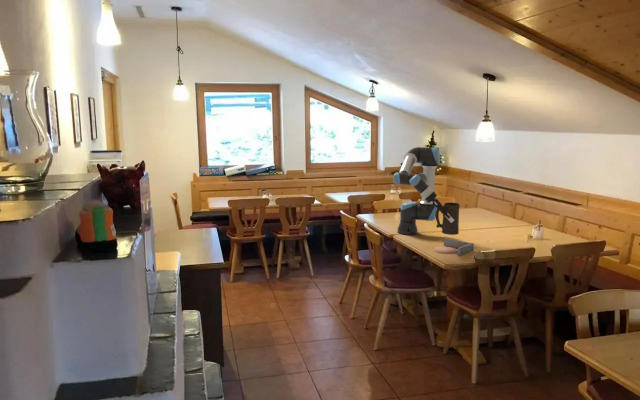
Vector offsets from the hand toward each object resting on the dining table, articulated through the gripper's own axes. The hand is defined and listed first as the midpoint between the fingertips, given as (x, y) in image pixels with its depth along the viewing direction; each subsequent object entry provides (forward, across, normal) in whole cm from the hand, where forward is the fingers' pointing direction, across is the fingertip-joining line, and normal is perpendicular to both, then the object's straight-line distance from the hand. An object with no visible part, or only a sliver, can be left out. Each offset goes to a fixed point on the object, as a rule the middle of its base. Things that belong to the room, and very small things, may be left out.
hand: (452, 219), depth 329 cm
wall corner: (+16, -3, -14) cm, 21 cm away
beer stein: (+4, +1, -9) cm, 10 cm away
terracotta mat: (+13, -1, -17) cm, 21 cm away
